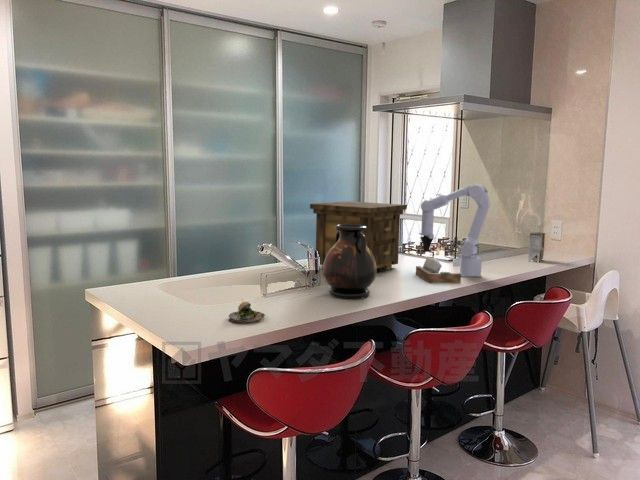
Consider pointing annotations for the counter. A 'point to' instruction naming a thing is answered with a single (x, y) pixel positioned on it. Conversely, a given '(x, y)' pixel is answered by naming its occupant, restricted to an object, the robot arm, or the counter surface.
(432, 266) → the grey rock
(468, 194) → the robot arm
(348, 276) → the amphora vase
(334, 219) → the crate
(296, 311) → the counter surface
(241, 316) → the mossy rock
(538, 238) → the coffee box
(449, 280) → the arena
